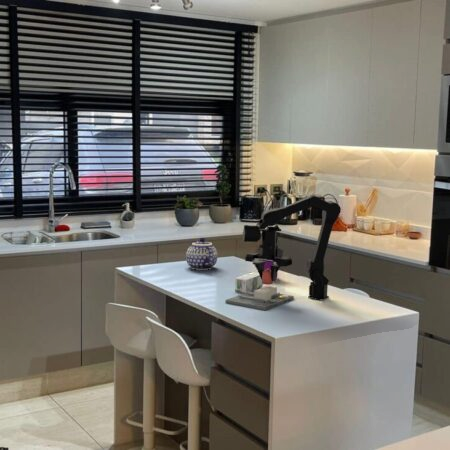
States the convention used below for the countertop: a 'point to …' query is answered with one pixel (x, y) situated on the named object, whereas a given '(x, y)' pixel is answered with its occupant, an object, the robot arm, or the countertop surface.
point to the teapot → (201, 255)
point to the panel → (259, 300)
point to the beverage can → (269, 266)
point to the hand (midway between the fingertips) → (267, 280)
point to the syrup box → (248, 282)
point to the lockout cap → (266, 277)
